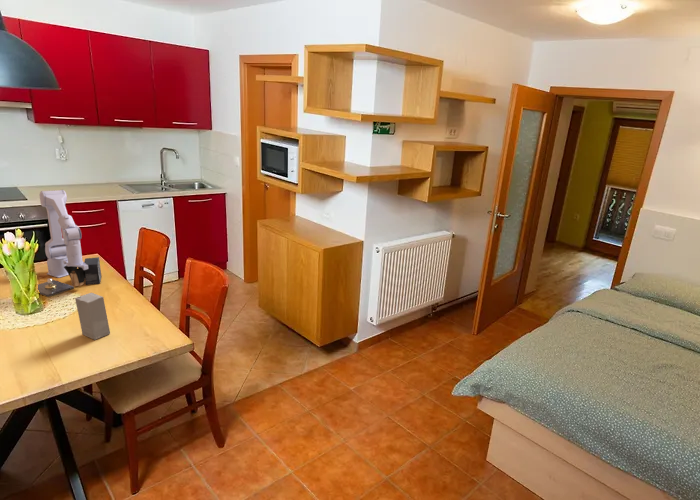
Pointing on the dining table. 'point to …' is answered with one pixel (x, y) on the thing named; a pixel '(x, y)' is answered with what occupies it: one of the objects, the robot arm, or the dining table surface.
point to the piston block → (53, 287)
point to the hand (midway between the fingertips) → (77, 281)
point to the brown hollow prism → (75, 279)
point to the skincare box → (92, 315)
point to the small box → (93, 271)
